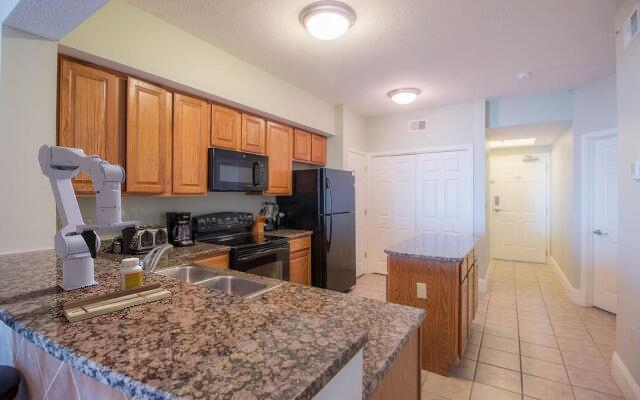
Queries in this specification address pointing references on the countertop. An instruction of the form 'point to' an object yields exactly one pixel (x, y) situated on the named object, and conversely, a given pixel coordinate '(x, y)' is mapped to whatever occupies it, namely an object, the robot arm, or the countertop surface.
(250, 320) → the countertop surface
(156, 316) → the countertop surface
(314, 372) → the countertop surface
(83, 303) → the board
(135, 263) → the supplement bottle
